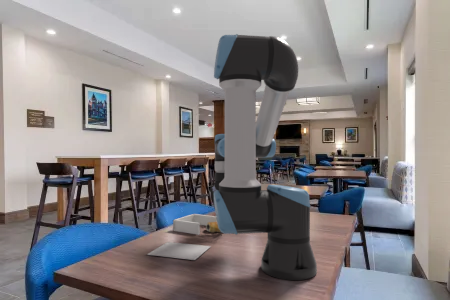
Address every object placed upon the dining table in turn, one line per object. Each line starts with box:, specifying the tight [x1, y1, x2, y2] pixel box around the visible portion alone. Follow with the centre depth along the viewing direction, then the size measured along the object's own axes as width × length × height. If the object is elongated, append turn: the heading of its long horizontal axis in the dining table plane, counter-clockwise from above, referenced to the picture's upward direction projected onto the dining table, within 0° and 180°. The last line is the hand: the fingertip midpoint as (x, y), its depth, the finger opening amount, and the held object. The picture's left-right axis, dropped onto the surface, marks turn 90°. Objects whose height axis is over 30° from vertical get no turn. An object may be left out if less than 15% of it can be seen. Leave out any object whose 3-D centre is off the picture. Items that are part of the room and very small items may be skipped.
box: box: [172, 213, 217, 236], centre depth 127 cm, size 15×13×4 cm
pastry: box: [205, 222, 222, 234], centre depth 124 cm, size 9×7×4 cm
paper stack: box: [146, 241, 212, 261], centre depth 101 cm, size 23×25×1 cm
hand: (223, 228), depth 120 cm, fingers closed
